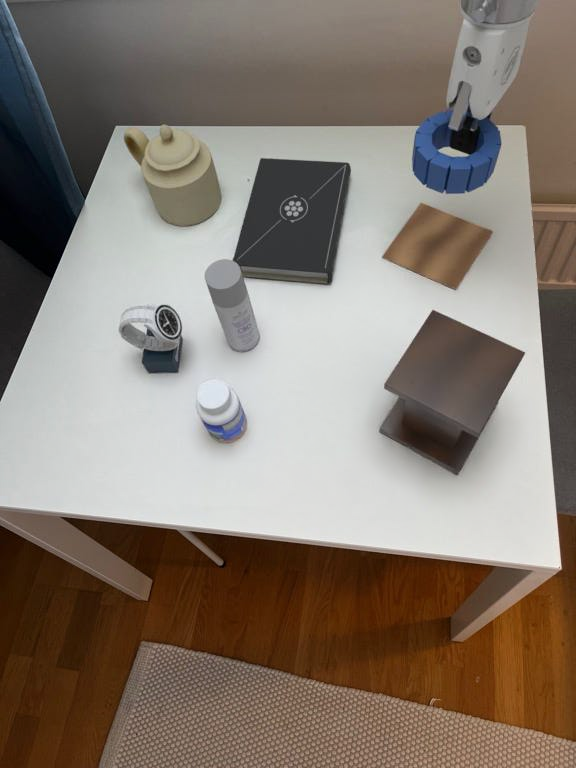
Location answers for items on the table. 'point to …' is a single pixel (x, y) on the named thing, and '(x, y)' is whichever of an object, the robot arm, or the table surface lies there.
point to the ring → (451, 170)
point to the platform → (447, 389)
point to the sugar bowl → (177, 174)
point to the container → (232, 304)
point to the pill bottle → (220, 410)
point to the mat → (438, 245)
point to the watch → (155, 336)
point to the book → (293, 221)
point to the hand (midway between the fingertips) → (467, 141)
